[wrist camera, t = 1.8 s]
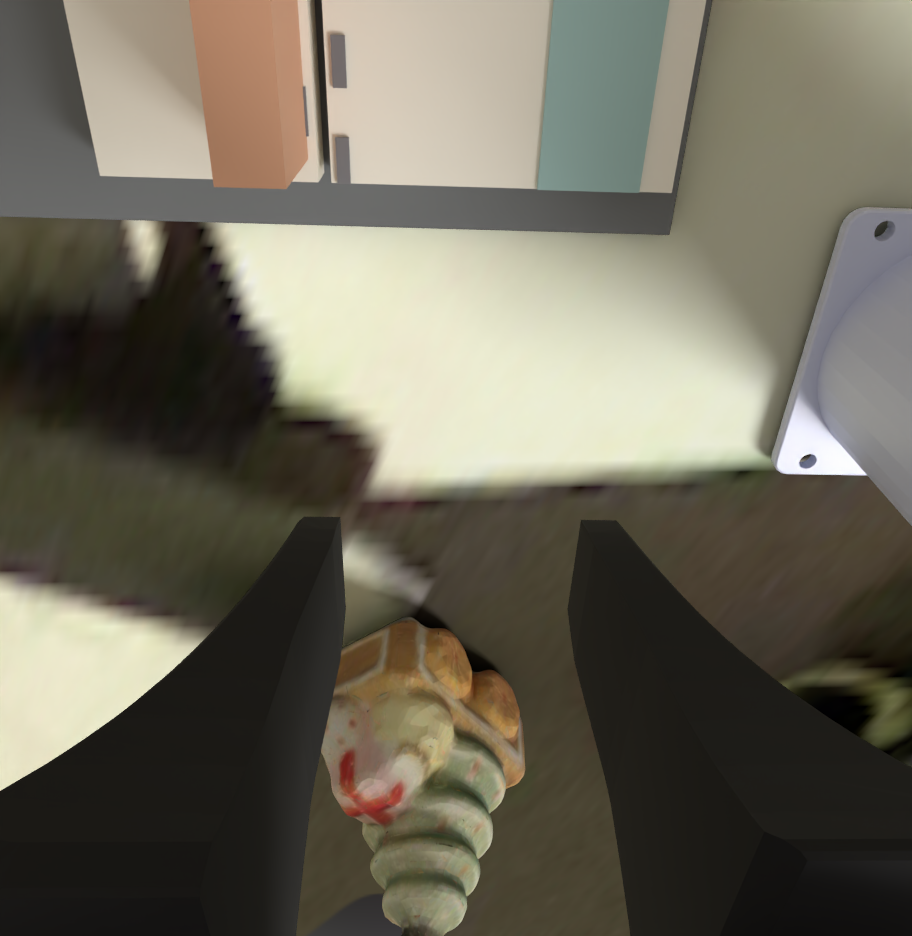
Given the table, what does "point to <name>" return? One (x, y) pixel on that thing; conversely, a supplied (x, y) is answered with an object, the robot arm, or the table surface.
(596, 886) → the table surface
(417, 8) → the ticket
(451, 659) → the ornament
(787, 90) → the table surface
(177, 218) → the mat
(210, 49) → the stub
